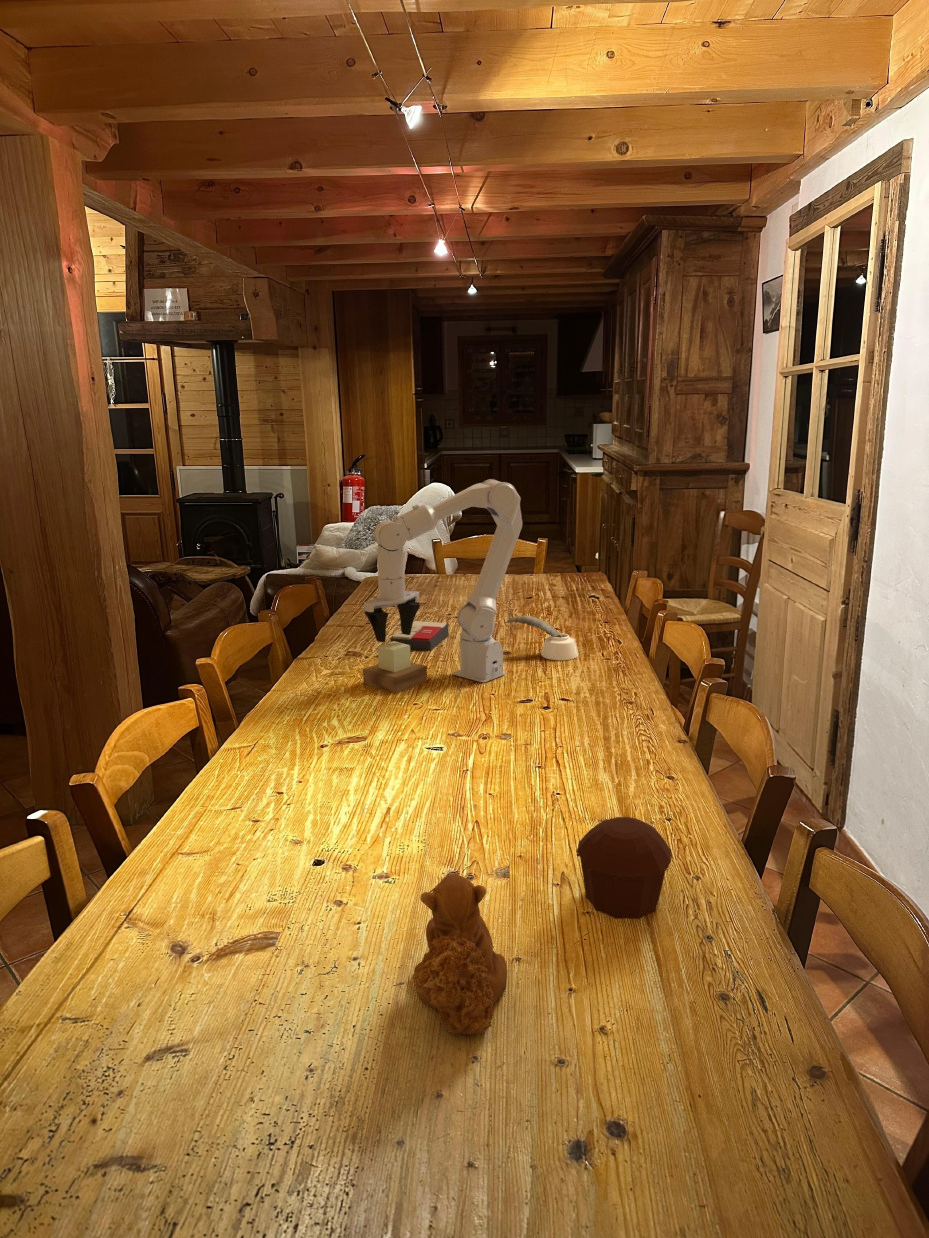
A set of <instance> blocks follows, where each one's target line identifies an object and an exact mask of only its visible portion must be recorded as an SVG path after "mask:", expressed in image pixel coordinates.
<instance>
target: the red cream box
mask: <svg viewBox="0 0 929 1238" xmlns="http://www.w3.org/2000/svg"><path fill="white" fill-rule="evenodd" d="M449 636H450V635H449V623H445V622H436V621H435V622H433V621H418V620H415V621H413V625H412V629H411V634H410V635H405V634H402V631H401V628H400V629H399V630H398V631H397V632H395V633H394V634H393V635H392V636H391V637H390V640H389V641H390V642H393V641H395V642H399V643H403V644H407V645H410V651H412V650H413V651H426V652H427V651H428V652H431V651H432V650H434V649H435V648H436V647H437V646H439V644H441V643H442V642H443V641H444V640H446V639H448V637H449Z"/></svg>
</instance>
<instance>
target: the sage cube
mask: <svg viewBox="0 0 929 1238" xmlns="http://www.w3.org/2000/svg"><path fill="white" fill-rule="evenodd" d="M377 658H378V659H377V660H378V663H377V664H379V668H381V669H384V670H388V671H391V672H397V671H400V670H403V669H406V668H409V667H411V663H412V662H411V649H410V645H407V644H403V643H399V642H395V641H393V642H391V641H390V642H388V643H384V644H381V645H377Z"/></svg>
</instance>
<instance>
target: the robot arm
mask: <svg viewBox="0 0 929 1238" xmlns="http://www.w3.org/2000/svg"><path fill="white" fill-rule="evenodd" d="M471 507H472V508H474V507H475V508H482V509H486V510H487V511H488V512H489V513H490V515H491V517H492V519H493V521H494V522H495V524H496V529H495V530H494V534H493V537H492V540H491V543H490V546H489V548H488V551H487V554H486V555H485V556H486V557H485V559H484V562H483V565H482V568H481V570H480V573H479V576H478V579H477V582H476V585H475V586H474V590H473V592H472V593H470V595H469V596H468V597H467V600H466V602H465V604H464V605H463V606H462V607H461V608H460V609H459V610H458V612H457V618H456V619H457V624H458V626H459V627H460V628H461V632H460V634H459V637H460V638H459V645H460V647H459V648H460V649H459V653H460V655H459V656H460V657H459V658H460V669H459V670H456V671H454V672H452V675H453V676H457V677H460V678H463V679H468V680H472V681H476V682H479V683H486V682H489V681H491V680H496V679H497V678H499V677H503V676H504V675H506V672H505V671H504V649H503V646H502V643H501V642H499V641H498V640H495V639H494V638H493V633H494V631H495V627H496V624H495V623H496V622H495V621H496V619H495V617H496V614H497V603H496V601H497V597H498V594H499V591H500V590H501V587H502V584H503V580H504V577H505V574H506V572H507V569H508V566H509V564H510V561H511V558H512V556H513V553H514V550H515V547H516V545H517V541H518V539H519V537H520V533H521V531H522V528H523V519H522V511H521V496H520V495H519V493H518V492H517V489H516V488H515V486H514V485H513V484H511V483H509V482H505V481H503V482H502V481H499V480H496V479H494V478H490V479H487V480H484V481H483V482H479V483H475V484H473V485H471V486H469V487H467V488H466V489H463V490H461V491H460V492H458V493H456V494H453V495H452V496H450V497H448V498H446V499H444V500H443V501H440V502H439V503H437V504H435V505H433V506H428V505H426V504H422V505H419V504H414V505H412V507H411V508H412V509H410V510H409V511H407V512H404V513H403V514H401V515H397V514H395V515H393V516H392V517H391V518H392V520H383V521H381V522H380V523H378V524H377V526H376V527H375V530H374V533H373V538H374V540H375V542H376V544H377V559H376V560H377V578H378V579H377V580H378V581H377V582H378V594H377V596H376V597H375V598H373V599H371V600H368V601H364V602H363V606H364V608H363V609H364V610H363V611H364V615H365V616H366V618H367V620H368V621H369V623H370V625H371V627H372V629H373V633H374V637H375V640H376V642H378V643H385V642H386V638H387V637H386V636H387V621H388V617H389V612H387V611H384V609H386V608H389V607H393V606H394V607H395V606H397V611H398V614H399V620H400V621H399V622H400V629H401V631H402V634H405V635H410V634H411V629H412V625H413V621H414V620H415V618H416V615H417V613H418V610H420V607H421V603H420V602H418V601H420V591H414V590H411V591H410V590H409V591H406V580H405V579H406V577H405V573H406V572H405V556H404V546H405V545H406V542H410V541H412V540H414V539H416V538H418V537H420V536H423V535H424V534H427V533H428V532H430V531H432V530H434V529H435V528H436V526H437V524H438V522H439V521H441V520H443V519H445V518H448V517H451V516H453V515H455V514H457V513H460V512H462V511H464V510H466V509H469V508H471Z"/></svg>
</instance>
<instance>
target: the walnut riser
mask: <svg viewBox="0 0 929 1238" xmlns="http://www.w3.org/2000/svg"><path fill="white" fill-rule="evenodd" d="M362 677H363V678H362V679H363V685H364V686H367V687H370V688H375V689H378V690H382V691H386V692H391V693H394V694H399V693H402V692H405V691H406V690H409V689H412V688H415V687H416V686H419V685H422V684H424V683H428V666H427V665H423V664H419V663H415V662H411V667H409V668H406V669H403V670H400V671H397V672H391V671H388V670H384V669H381V668H379V664H378V663H377V664H374V665H371V666H368V667H366V668H365V667H364V668H363V669H362Z"/></svg>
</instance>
